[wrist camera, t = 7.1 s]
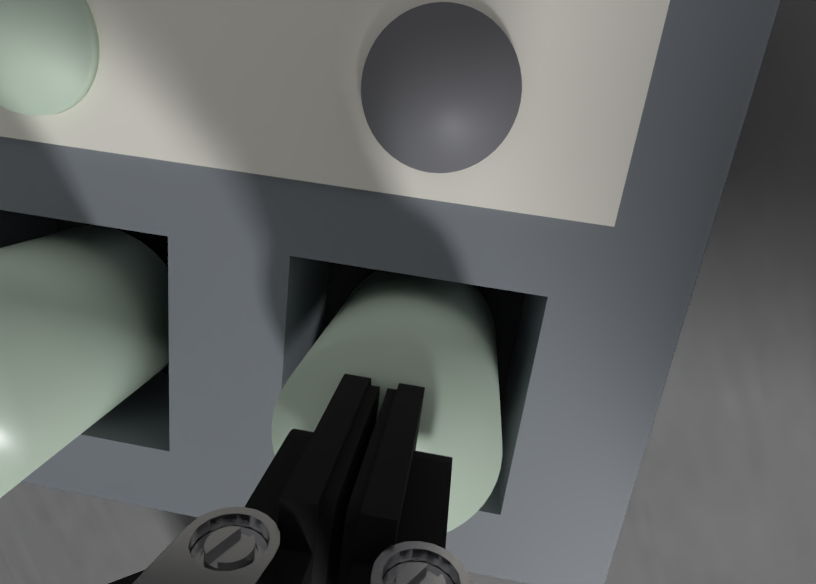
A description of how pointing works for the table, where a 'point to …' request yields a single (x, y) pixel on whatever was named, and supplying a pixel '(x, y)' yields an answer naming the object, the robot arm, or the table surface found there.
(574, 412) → the board
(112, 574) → the table surface
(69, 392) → the button middle
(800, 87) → the table surface
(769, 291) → the table surface
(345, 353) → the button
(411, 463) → the robot arm
